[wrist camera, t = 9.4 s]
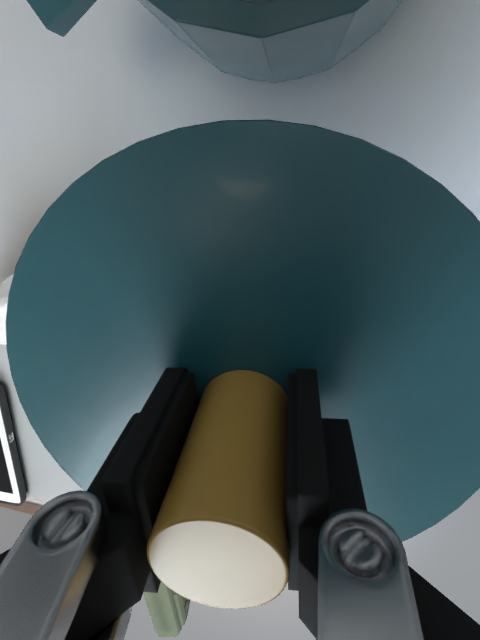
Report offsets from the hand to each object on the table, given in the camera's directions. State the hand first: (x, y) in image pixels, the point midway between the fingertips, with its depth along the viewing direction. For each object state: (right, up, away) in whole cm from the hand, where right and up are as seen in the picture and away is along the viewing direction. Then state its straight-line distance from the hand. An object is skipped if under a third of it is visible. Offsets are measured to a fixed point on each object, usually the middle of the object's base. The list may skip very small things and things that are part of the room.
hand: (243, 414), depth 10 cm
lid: (0, 0, +1) cm, 1 cm away
